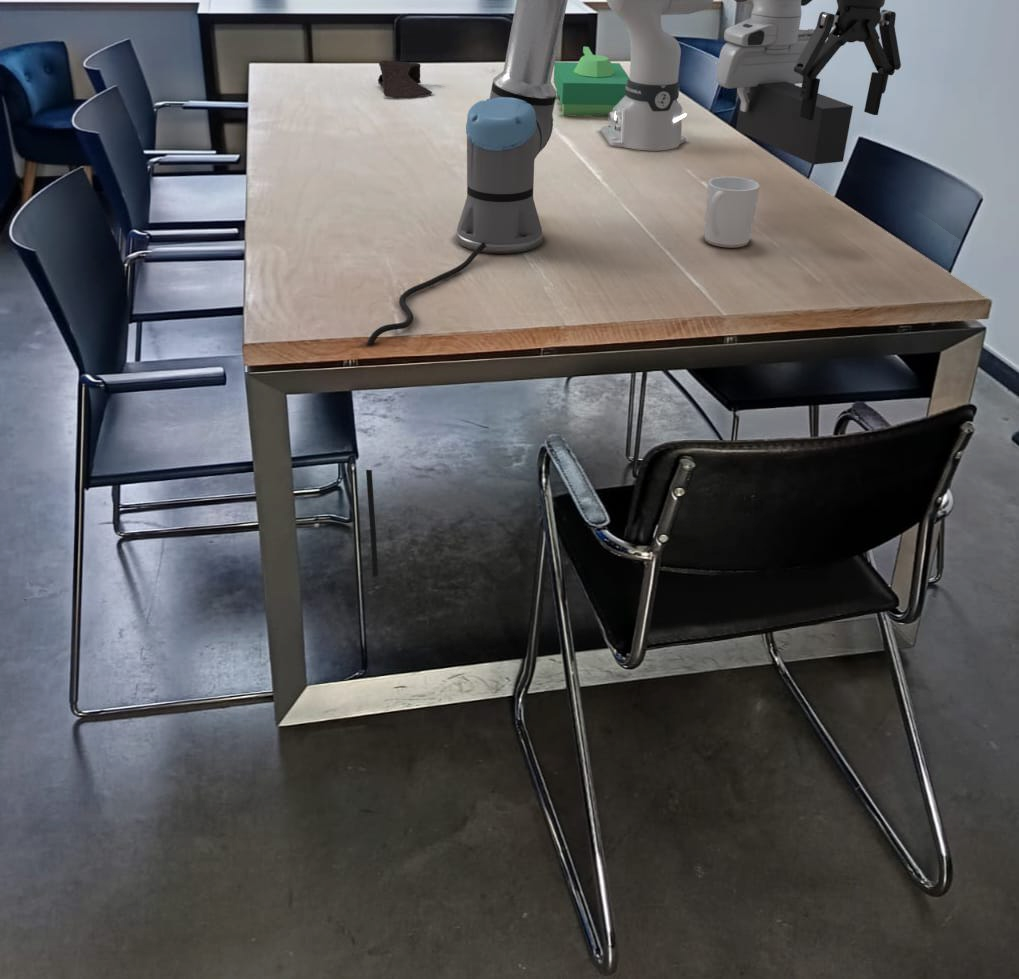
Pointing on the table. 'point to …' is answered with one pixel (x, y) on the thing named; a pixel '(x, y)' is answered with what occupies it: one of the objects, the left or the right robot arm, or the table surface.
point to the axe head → (401, 79)
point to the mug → (730, 211)
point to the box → (796, 123)
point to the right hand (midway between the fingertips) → (762, 109)
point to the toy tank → (589, 85)
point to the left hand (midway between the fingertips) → (838, 116)
